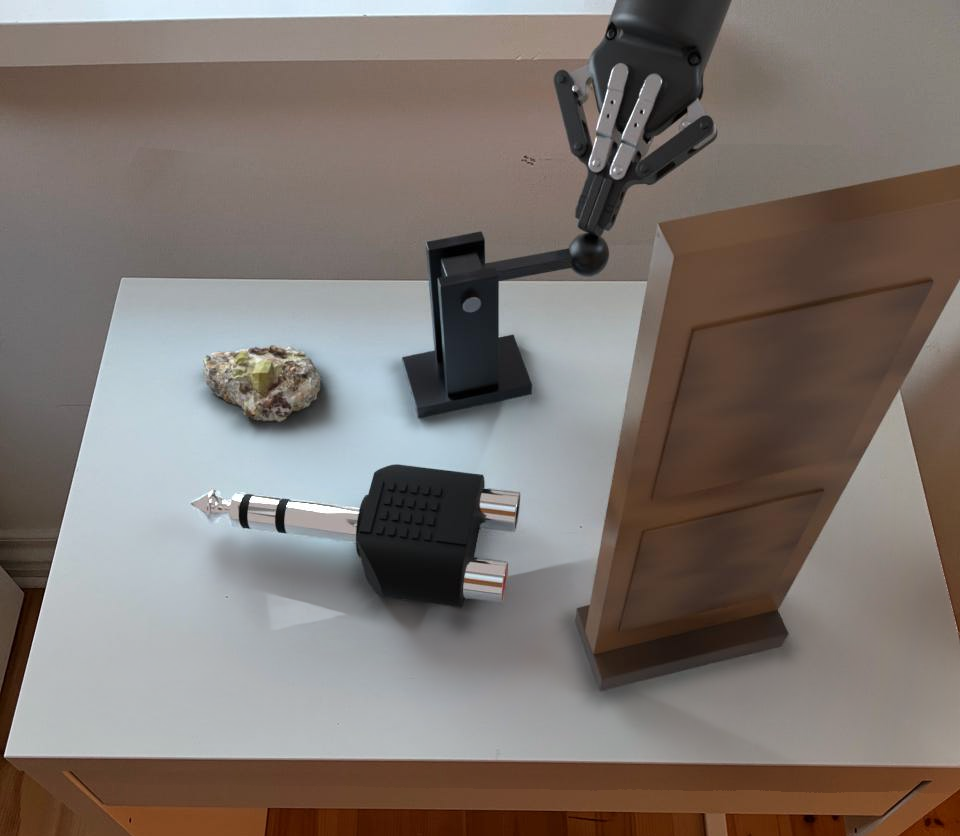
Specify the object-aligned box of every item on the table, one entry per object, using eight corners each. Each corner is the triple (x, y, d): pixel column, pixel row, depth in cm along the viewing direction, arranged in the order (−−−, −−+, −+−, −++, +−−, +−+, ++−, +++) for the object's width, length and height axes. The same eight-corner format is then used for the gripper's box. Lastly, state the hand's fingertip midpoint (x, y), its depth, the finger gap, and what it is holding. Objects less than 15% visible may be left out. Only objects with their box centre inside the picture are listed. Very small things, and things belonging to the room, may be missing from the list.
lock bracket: (513, 344, 82) (515, 219, 70) (532, 394, 79) (537, 272, 68) (402, 366, 81) (387, 243, 69) (417, 418, 78) (404, 299, 67)
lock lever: (599, 254, 74) (603, 219, 71) (611, 282, 72) (617, 247, 69) (440, 283, 72) (438, 249, 69) (450, 312, 71) (448, 278, 68)
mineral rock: (336, 340, 79) (298, 388, 74) (341, 385, 82) (304, 434, 77) (222, 320, 81) (176, 365, 76) (230, 365, 84) (187, 411, 79)
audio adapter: (500, 589, 64) (156, 543, 66) (500, 625, 69) (179, 581, 71) (523, 464, 69) (202, 425, 71) (521, 506, 74) (220, 468, 76)
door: (750, 578, 70) (961, 128, 38) (782, 646, 68) (1036, 223, 36) (574, 620, 69) (640, 189, 37) (599, 691, 66) (693, 293, 34)
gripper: (779, 19, 65) (678, 268, 71) (609, -30, 68) (526, 213, 74) (771, -26, 58) (660, 254, 65) (583, -78, 62) (494, 194, 68)
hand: (588, 231), depth 70 cm, fingers closed
